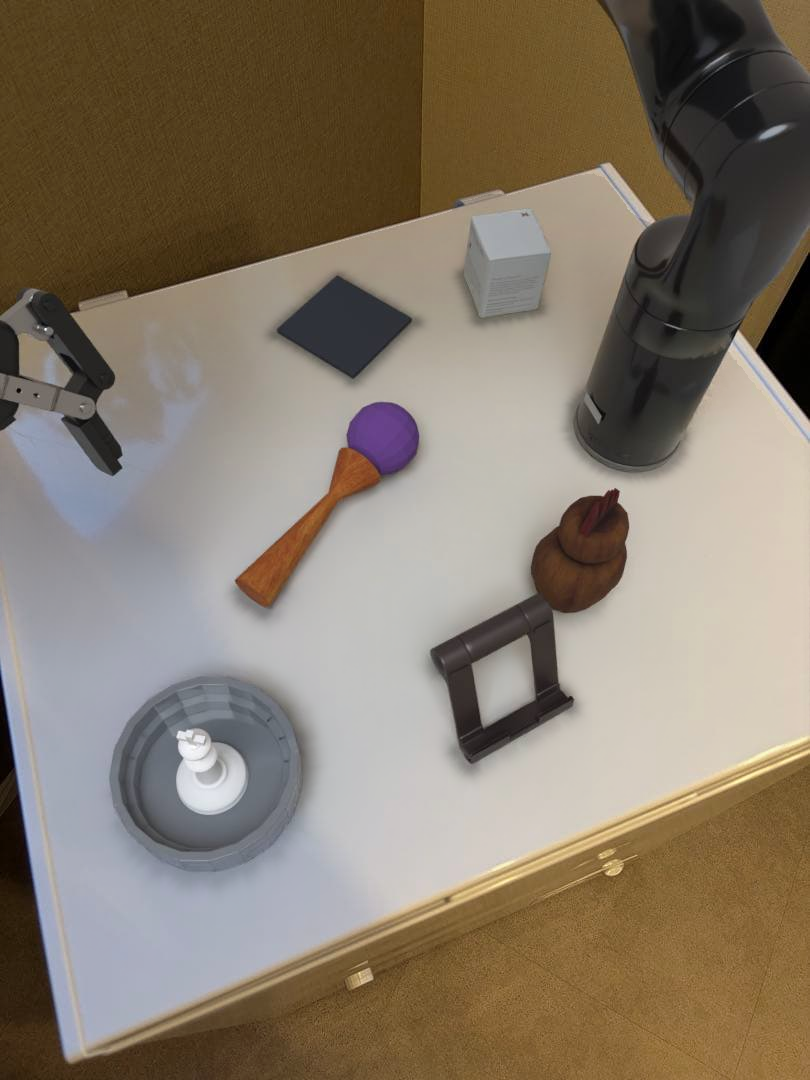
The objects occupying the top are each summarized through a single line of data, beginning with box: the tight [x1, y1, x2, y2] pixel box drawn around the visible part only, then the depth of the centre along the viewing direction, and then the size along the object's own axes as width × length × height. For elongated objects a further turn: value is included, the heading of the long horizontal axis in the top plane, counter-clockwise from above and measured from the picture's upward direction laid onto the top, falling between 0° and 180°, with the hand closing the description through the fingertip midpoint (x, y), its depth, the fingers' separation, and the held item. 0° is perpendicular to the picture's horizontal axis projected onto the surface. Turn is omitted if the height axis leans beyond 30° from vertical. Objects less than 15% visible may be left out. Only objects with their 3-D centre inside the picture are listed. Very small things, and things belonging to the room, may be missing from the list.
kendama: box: [234, 401, 420, 609], centre depth 71 cm, size 6×6×20 cm
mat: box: [276, 275, 413, 379], centre depth 83 cm, size 9×9×1 cm
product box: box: [463, 207, 553, 319], centre depth 84 cm, size 6×6×7 cm
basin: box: [108, 676, 303, 872], centre depth 60 cm, size 12×12×4 cm
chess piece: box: [176, 728, 249, 815], centre depth 57 cm, size 5×5×10 cm
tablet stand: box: [429, 593, 575, 765], centre depth 62 cm, size 9×8×8 cm
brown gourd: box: [530, 487, 630, 614], centre depth 64 cm, size 7×6×15 cm
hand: (52, 518), depth 49 cm, fingers open, 8 cm apart
